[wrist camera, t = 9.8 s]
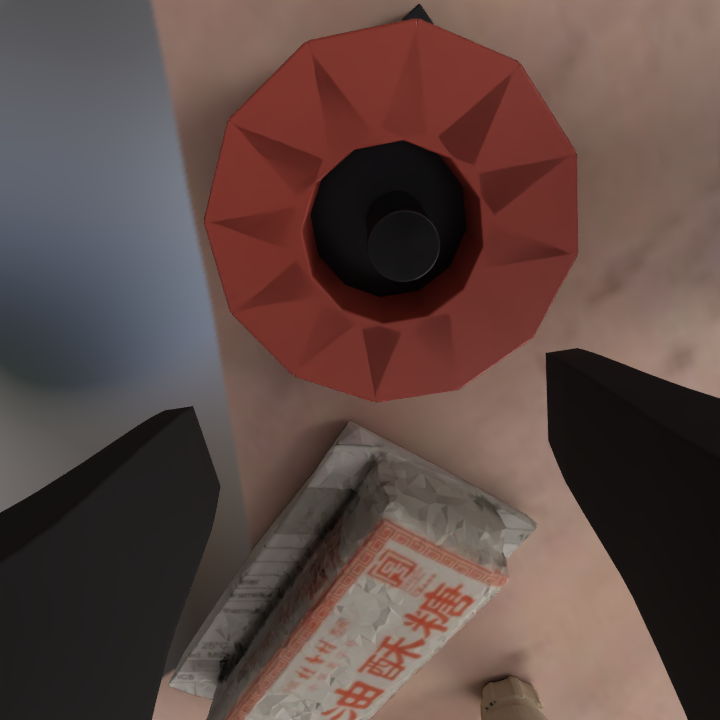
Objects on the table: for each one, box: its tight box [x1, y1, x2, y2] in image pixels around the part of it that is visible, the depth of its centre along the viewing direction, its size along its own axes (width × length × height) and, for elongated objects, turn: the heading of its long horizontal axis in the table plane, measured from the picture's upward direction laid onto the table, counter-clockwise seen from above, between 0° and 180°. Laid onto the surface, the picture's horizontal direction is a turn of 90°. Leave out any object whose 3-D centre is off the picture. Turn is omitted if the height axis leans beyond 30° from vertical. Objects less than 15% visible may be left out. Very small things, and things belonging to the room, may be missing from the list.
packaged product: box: [169, 421, 536, 720], centre depth 25 cm, size 18×5×10 cm
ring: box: [204, 18, 578, 402], centre depth 17 cm, size 11×11×3 cm
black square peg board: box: [310, 4, 467, 297], centre depth 17 cm, size 9×9×5 cm
